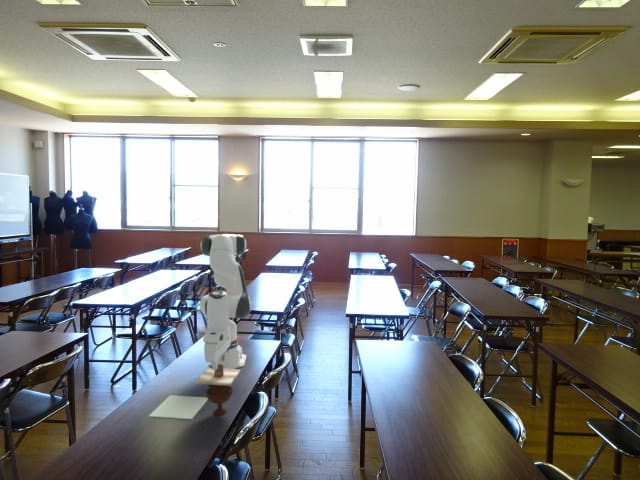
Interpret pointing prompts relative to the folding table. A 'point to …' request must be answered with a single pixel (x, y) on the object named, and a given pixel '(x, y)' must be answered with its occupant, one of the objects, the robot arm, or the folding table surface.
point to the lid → (218, 376)
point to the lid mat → (179, 407)
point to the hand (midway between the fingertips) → (219, 364)
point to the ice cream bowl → (219, 396)
